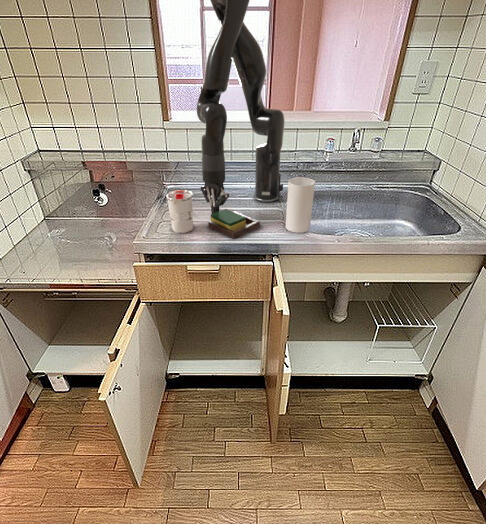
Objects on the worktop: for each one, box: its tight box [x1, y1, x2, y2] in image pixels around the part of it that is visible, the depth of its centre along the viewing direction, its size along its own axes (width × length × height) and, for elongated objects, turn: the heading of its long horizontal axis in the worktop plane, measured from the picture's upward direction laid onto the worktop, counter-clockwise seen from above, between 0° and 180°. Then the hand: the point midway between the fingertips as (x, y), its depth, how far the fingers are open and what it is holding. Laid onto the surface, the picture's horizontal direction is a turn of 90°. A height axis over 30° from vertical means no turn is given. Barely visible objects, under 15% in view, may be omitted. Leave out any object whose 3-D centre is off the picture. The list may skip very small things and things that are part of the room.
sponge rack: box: [207, 210, 261, 240], centre depth 120 cm, size 12×12×2 cm
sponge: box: [210, 208, 247, 231], centre depth 120 cm, size 7×10×3 cm
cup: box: [284, 176, 316, 234], centre depth 115 cm, size 8×8×16 cm
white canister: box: [165, 189, 194, 234], centre depth 116 cm, size 10×8×12 cm
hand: (215, 215), depth 125 cm, fingers closed
